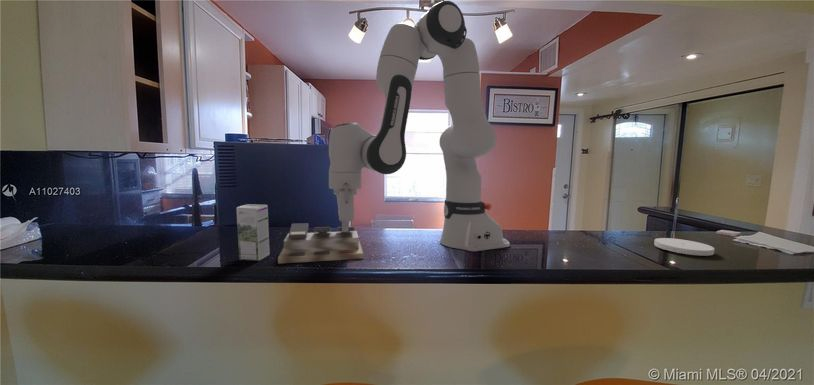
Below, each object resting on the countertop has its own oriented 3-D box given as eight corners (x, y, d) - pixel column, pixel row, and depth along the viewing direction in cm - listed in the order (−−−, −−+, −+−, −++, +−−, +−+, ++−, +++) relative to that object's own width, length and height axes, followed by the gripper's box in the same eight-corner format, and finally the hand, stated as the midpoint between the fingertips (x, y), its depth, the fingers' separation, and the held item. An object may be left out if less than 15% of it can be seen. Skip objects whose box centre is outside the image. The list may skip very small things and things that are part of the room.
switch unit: (359, 246, 96) (359, 227, 95) (363, 258, 84) (363, 237, 84) (285, 249, 91) (284, 230, 90) (278, 263, 79) (277, 241, 79)
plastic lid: (702, 249, 99) (703, 241, 99) (722, 262, 87) (723, 253, 87) (649, 243, 106) (649, 235, 105) (660, 254, 93) (661, 246, 93)
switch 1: (308, 226, 91) (308, 222, 90) (306, 237, 84) (306, 234, 84) (292, 226, 90) (291, 223, 89) (288, 238, 83) (288, 235, 83)
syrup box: (270, 254, 86) (268, 203, 85) (258, 261, 80) (256, 207, 79) (251, 253, 87) (249, 203, 85) (238, 260, 81) (235, 206, 79)
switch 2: (352, 229, 94) (352, 226, 94) (354, 230, 87) (354, 226, 87) (337, 230, 93) (337, 226, 93) (337, 231, 86) (337, 227, 86)
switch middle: (331, 231, 92) (331, 227, 92) (330, 230, 85) (330, 226, 85) (315, 232, 91) (315, 228, 91) (313, 231, 84) (313, 227, 84)
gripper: (359, 185, 76) (359, 240, 77) (354, 179, 95) (354, 222, 97) (333, 185, 74) (333, 241, 76) (333, 179, 94) (333, 223, 95)
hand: (345, 230), depth 86 cm, fingers closed, pressing on switch 2
